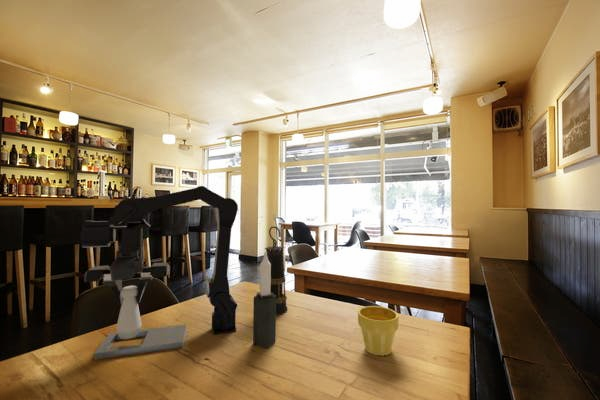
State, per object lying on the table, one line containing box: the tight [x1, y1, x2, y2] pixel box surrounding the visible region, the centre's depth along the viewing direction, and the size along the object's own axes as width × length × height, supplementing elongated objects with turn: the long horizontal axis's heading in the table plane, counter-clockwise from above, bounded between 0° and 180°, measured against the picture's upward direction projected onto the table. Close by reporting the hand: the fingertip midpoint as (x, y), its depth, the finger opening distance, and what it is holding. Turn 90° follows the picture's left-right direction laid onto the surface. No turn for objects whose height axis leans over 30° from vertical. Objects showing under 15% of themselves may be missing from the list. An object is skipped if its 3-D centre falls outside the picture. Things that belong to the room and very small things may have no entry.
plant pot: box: [357, 305, 399, 357], centre depth 74 cm, size 10×10×10 cm
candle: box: [252, 251, 277, 349], centre depth 77 cm, size 5×5×25 cm
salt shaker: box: [115, 285, 143, 340], centre depth 75 cm, size 6×6×13 cm
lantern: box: [264, 226, 288, 316], centre depth 101 cm, size 9×9×30 cm
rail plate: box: [93, 324, 187, 361], centre depth 76 cm, size 20×11×2 cm, turn 108°
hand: (129, 303), depth 75 cm, fingers closed on salt shaker, 4 cm apart
